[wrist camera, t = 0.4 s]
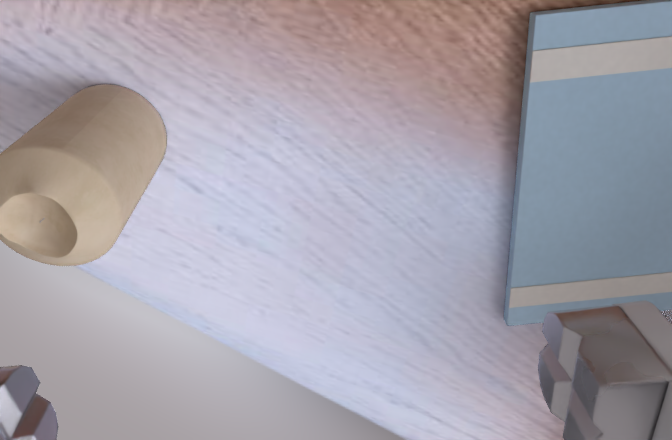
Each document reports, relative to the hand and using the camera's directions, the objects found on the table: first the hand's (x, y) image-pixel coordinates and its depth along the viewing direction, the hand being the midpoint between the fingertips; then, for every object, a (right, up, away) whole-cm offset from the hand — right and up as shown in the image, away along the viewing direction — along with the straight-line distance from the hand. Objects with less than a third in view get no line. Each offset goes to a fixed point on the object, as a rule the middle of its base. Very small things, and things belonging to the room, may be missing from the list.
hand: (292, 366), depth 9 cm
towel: (+17, +5, +23) cm, 29 cm away
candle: (-11, +7, +21) cm, 24 cm away
